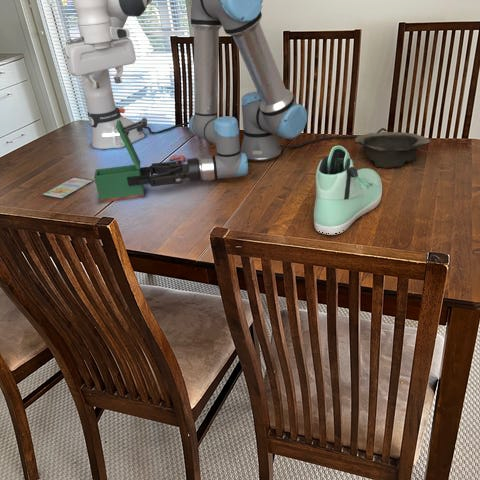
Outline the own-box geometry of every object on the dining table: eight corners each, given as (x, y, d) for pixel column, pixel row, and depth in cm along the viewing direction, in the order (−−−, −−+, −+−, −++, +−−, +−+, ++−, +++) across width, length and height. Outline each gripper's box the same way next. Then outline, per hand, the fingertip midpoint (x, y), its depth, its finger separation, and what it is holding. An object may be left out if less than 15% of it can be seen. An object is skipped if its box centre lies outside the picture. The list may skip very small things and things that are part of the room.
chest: (100, 202, 154) (93, 176, 149) (101, 194, 159) (95, 169, 154) (144, 196, 155) (139, 171, 150) (144, 189, 160) (139, 164, 155)
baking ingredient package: (42, 193, 161) (73, 176, 172) (42, 194, 161) (73, 178, 173) (61, 197, 157) (92, 180, 169) (62, 198, 158) (92, 181, 169)
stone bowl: (388, 178, 153) (388, 150, 149) (339, 160, 173) (338, 135, 169) (444, 159, 162) (447, 132, 158) (392, 144, 182) (392, 120, 178)
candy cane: (149, 171, 173) (148, 167, 172) (176, 156, 183) (176, 153, 182) (161, 174, 170) (160, 170, 169) (188, 159, 180) (188, 155, 179)
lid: (115, 126, 142) (143, 116, 142) (116, 120, 147) (143, 110, 147) (137, 170, 150) (163, 160, 150) (137, 162, 155) (162, 153, 155)
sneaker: (389, 187, 148) (396, 123, 138) (356, 242, 123) (361, 168, 112) (346, 181, 154) (350, 119, 144) (306, 232, 129) (307, 161, 118)
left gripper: (67, 41, 124) (80, 95, 131) (133, 29, 136) (142, 79, 143) (56, 40, 128) (69, 92, 135) (121, 28, 140) (130, 77, 147)
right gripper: (203, 192, 149) (128, 200, 148) (200, 168, 166) (133, 176, 164) (200, 170, 146) (123, 178, 144) (197, 148, 162) (129, 155, 160)
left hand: (107, 85), depth 139 cm, fingers open, 6 cm apart
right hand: (128, 177), depth 154 cm, fingers closed on chest, 6 cm apart
